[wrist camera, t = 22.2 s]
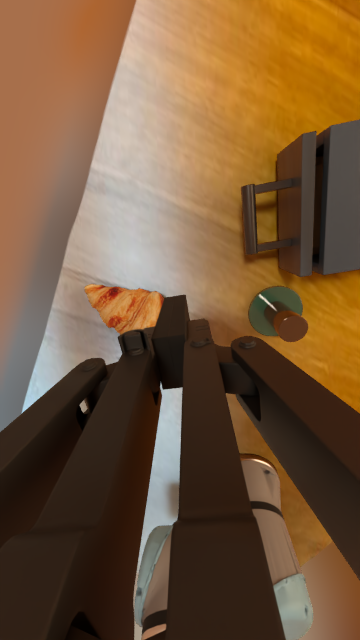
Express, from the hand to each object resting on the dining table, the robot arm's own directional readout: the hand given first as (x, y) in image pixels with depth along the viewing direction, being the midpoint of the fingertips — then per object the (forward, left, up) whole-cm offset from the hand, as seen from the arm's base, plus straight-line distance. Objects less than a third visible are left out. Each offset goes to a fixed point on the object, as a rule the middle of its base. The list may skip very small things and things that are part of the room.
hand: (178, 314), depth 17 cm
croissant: (-7, +8, -23) cm, 25 cm away
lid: (-10, -14, -22) cm, 28 cm away
